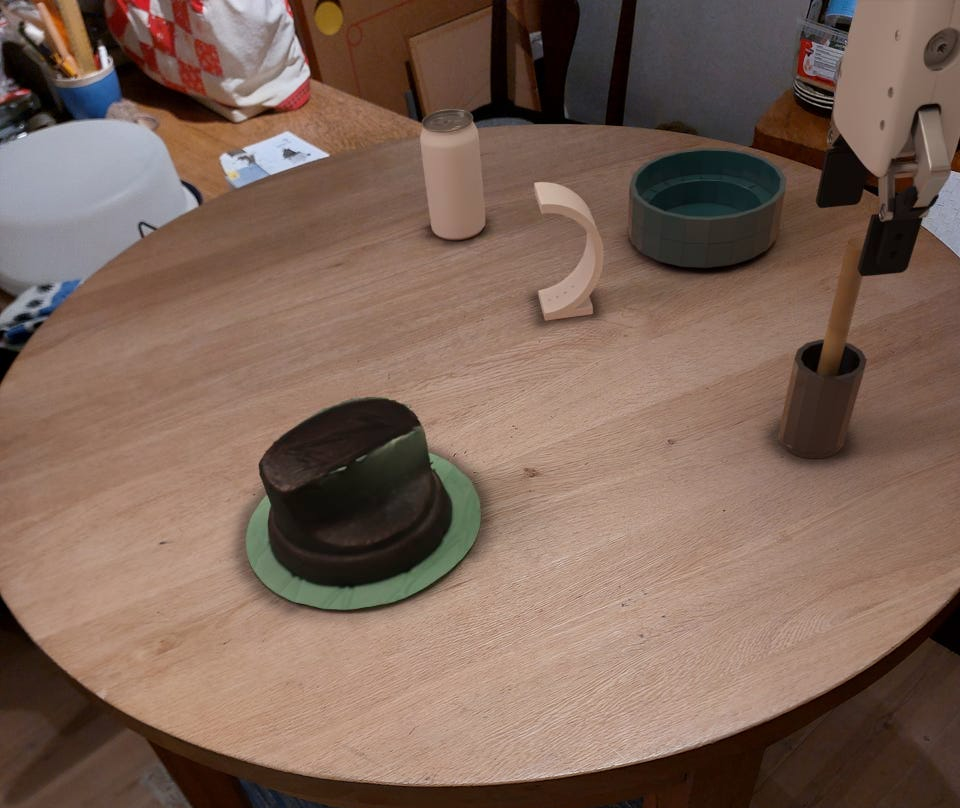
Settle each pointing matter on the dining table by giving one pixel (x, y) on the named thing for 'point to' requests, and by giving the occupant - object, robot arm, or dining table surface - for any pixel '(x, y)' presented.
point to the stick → (842, 309)
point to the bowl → (705, 207)
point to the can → (453, 174)
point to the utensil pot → (820, 402)
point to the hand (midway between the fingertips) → (858, 236)
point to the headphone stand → (577, 287)
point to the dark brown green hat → (359, 509)
